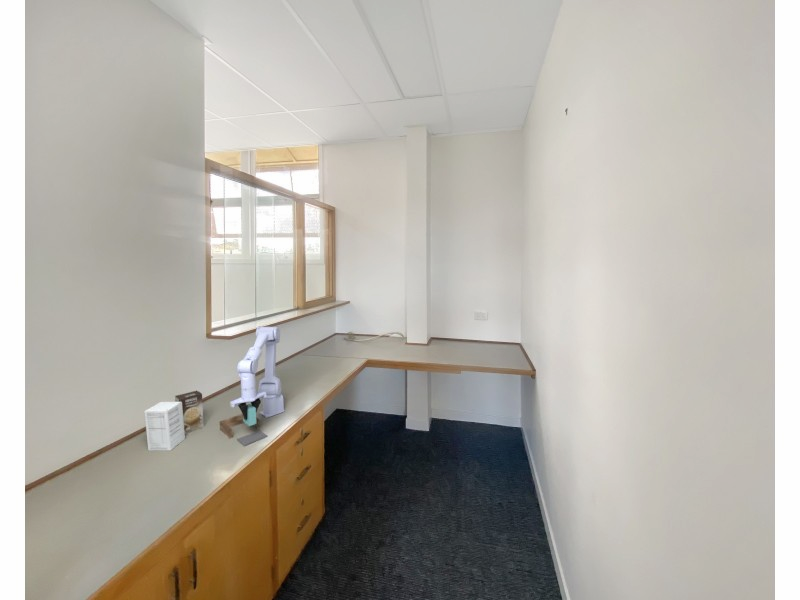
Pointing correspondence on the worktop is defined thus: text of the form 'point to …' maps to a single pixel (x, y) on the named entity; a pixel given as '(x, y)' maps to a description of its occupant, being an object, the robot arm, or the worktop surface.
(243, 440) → the charcoal mat
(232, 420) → the walnut cubby
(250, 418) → the teal blank
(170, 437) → the supplement box
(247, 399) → the robot arm
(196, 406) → the coffee box
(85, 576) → the worktop surface
